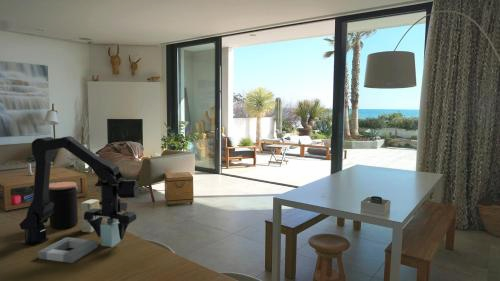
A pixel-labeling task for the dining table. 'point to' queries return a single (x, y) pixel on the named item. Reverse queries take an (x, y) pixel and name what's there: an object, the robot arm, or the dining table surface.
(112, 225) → the plug
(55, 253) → the socket block
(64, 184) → the coffee jar
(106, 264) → the dining table surface
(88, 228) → the skincare box
